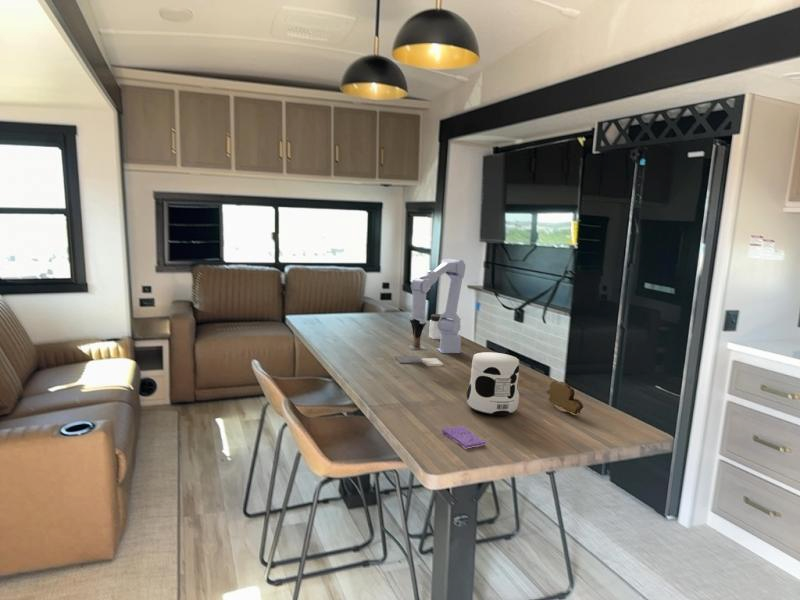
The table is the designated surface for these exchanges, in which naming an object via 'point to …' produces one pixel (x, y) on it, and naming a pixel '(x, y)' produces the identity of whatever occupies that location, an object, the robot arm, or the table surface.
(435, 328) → the jar
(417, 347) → the turner
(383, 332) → the table surface
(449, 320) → the robot arm
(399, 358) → the mat
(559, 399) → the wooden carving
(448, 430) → the sponges
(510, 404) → the milk container
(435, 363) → the tile
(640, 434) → the table surface
